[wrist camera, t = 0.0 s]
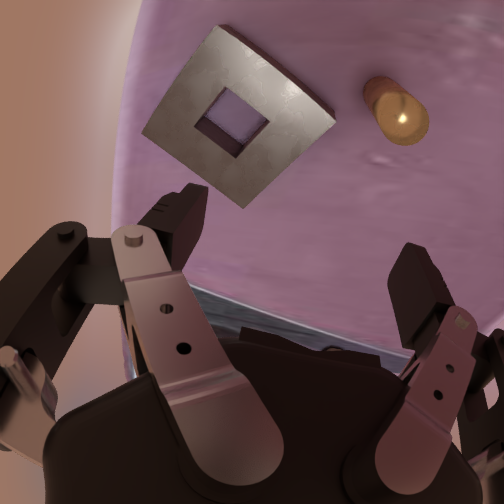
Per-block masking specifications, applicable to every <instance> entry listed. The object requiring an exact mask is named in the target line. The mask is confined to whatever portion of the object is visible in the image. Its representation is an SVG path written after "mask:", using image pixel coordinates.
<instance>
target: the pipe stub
mask: <svg viewBox="0 0 504 504" xmlns="http://www.w3.org/2000/svg"><path fill="white" fill-rule="evenodd" d="M363 97H364V101H365V103H366V104H367V106H368V108H369V109H370V111H371V113H372V114H373V116H374V118H375V119H376V121H377V123H378V125H379V126H380V128H381V130H382V132H383V133H384V135H385V136H386V137H387V138H388V139H389V140H390V141H391V142H393V143H395V144H397V145H402V146H408V145H413V144H415V143H417V142H419V141H420V140H421V139H422V138H423V137H424V136H425V134H426V133H427V131H428V127H429V116H428V113H427V111H426V109H425V107H424V106H423V105H422V104H421V103H420V102H419V101H418V100H417V99H415V98H414V97H413V96H412V95H411V94H409V93H408V92H407V91H406V90H404V89H403V88H402V87H401V86H399V85H398V84H397V83H396V82H394V81H393V80H392V79H390V78H388V77H383V76H378V77H374V78H372V79H370V80H369V81H368V82H367V83H366V85H365V87H364V90H363Z"/></svg>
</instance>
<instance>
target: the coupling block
mask: <svg viewBox="0 0 504 504" xmlns="http://www.w3.org/2000/svg"><path fill="white" fill-rule="evenodd" d="M226 88H228V89H230V90H231V91H232V92H234V93H235V94H236V95H238V96H239V97H240V98H242V99H243V100H244V101H245V102H247V103H248V104H249V105H250V106H252V107H253V108H254V109H256V110H257V111H258V112H259V113H261V114H262V115H263V116H264V117H265V118H267V120H266V121H265V123H264V124H263V125H262V126H261V127H260V128H259V129H258V130H257V131H256V132H255V133H254V134H253V135H252V136H251V138H250V139H249V140H248V141H247V142H246V143H245V144H244V145H243V146H242V145H241V144H240V143H239V142H237V141H236V140H235V139H233V138H232V137H231V136H230V135H228V134H227V133H226V132H224V131H223V130H222V129H220V128H219V127H218V126H217V125H215V124H214V123H213V122H211V121H210V120H209V119H207V118H206V117H205V115H206V113H207V112H208V111H209V110H210V108H211V107H212V106H213V104H214V103H215V102H216V101H217V99H218V98H219V97H220V96H221V95H222V93H223V92H224V91H225V90H226ZM335 123H336V117H335V112H334V111H333V110H332V109H331V108H330V107H329V106H328V105H327V104H326V103H324V102H323V101H322V100H321V99H320V98H319V97H318V96H317V95H316V94H315V93H313V92H312V91H311V90H310V89H309V88H308V87H307V86H306V85H304V84H303V83H302V82H301V81H300V80H299V79H297V78H296V77H295V76H294V75H293V74H291V73H290V72H289V71H288V70H287V69H285V68H284V67H283V66H282V65H280V64H279V63H278V62H277V61H275V60H274V59H273V58H272V57H270V56H269V55H268V54H267V53H265V52H264V51H263V50H261V49H260V48H259V47H257V46H256V45H255V44H253V43H252V42H251V41H249V40H248V39H246V38H245V37H244V36H242V35H241V34H239V33H238V32H237V31H235V30H234V29H232V28H231V27H229V26H228V25H216V26H215V27H214V28H213V30H212V31H211V32H210V33H209V35H208V36H207V37H206V38H205V40H204V41H203V42H202V44H201V45H200V46H199V48H198V49H197V50H196V52H195V53H194V54H193V56H192V57H191V58H190V60H189V61H188V62H187V64H186V65H185V67H184V68H183V69H182V71H181V72H180V74H179V75H178V76H177V78H176V79H175V81H174V82H173V84H172V85H171V87H170V88H169V90H168V91H167V93H166V94H165V96H164V97H163V99H162V100H161V102H160V103H159V105H158V107H157V108H156V110H155V111H154V113H153V114H152V116H151V118H150V119H149V121H148V123H147V124H146V126H145V128H144V129H143V131H142V133H141V134H143V135H144V136H145V137H147V138H148V139H150V140H151V141H152V142H154V143H155V144H157V145H158V146H159V147H161V148H162V149H163V150H165V151H166V152H168V153H169V154H170V155H172V156H173V157H174V158H176V159H177V160H178V161H180V162H181V163H183V164H184V165H185V166H187V167H188V168H189V169H191V170H192V171H193V172H195V173H196V174H197V175H199V176H200V177H201V178H203V179H204V180H205V181H207V182H208V183H209V184H211V185H212V186H213V187H215V188H216V189H217V190H219V191H220V192H221V193H223V194H224V195H225V196H227V197H228V198H229V199H231V200H232V201H233V202H235V203H236V204H237V205H239V206H240V207H241V208H242V209H244V208H245V207H246V206H247V205H248V204H249V203H250V202H251V201H252V200H253V199H254V198H255V197H256V196H257V195H258V194H259V193H260V192H261V191H262V190H263V189H265V188H266V187H267V186H268V185H269V184H270V183H271V182H272V181H273V180H274V179H275V178H276V177H277V176H278V175H279V174H280V173H281V172H282V171H284V170H285V169H286V168H287V167H288V166H289V165H290V164H291V163H292V162H293V161H294V160H295V159H296V158H297V157H299V156H300V155H301V154H302V153H303V152H304V151H305V150H306V149H307V148H308V147H309V146H310V145H312V144H313V143H314V142H315V141H316V140H317V139H318V138H319V137H320V136H321V135H322V134H324V133H325V132H326V131H327V130H328V129H329V128H330V127H331V126H332V125H333V124H335Z"/></svg>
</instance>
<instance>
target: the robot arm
mask: <svg viewBox="0 0 504 504" xmlns="http://www.w3.org/2000/svg"><path fill="white" fill-rule="evenodd" d="M207 197H208V187H206V186H202V185H197V184H193V183H188V184H187V185H186V186H185V187H184V189H183V190H182V191H181V192H180V193H176V192H171V193H169V194H167V195H164V196H162V197H161V198H160V200H159V201H158V202H157V203H156V204H155V205H154V206H153V207H152V209H150V210H149V211H148V212H147V214H146V215H145V216H144V217H143V218H142V219H141V220H140V221H139V222H138V224H137V225H126V226H123V227H120V228H118V229H117V230H115V231H114V232H113V234H112V236H111V238H92V237H91V238H90V237H88V236H87V229H86V227H85V226H84V225H83V224H81V223H79V222H72V221H68V222H62V223H59V224H56V225H54V226H53V227H51V228H50V229H49V230H48V231H47V232H46V233H45V234H44V235H43V236H42V237H41V238H40V239H39V240H38V241H37V242H36V243H35V244H34V245H33V246H32V247H31V248H30V249H29V250H28V251H27V252H26V253H25V254H24V255H23V256H22V257H21V259H20V260H19V261H18V262H17V263H16V264H15V265H14V266H13V267H12V268H11V269H10V271H9V272H8V273H7V274H6V275H5V276H4V277H3V279H2V280H1V281H0V450H2V451H14V452H15V453H17V454H19V455H20V456H22V457H24V458H26V459H27V460H29V461H31V462H33V463H34V464H36V465H38V466H40V467H42V468H43V471H44V478H45V490H46V492H45V493H46V495H45V496H46V497H45V504H504V330H502V329H495V330H494V331H493V332H492V333H491V335H490V336H489V337H487V336H485V335H483V334H481V333H479V332H478V331H477V330H478V326H477V323H476V321H475V319H474V318H473V317H472V315H471V314H470V313H469V312H468V311H466V310H465V309H463V308H461V307H459V306H456V305H455V303H454V301H453V298H452V296H451V294H450V292H449V290H448V288H447V285H446V283H445V281H443V277H442V275H441V273H440V271H439V270H438V268H437V267H436V266H435V265H434V264H433V262H432V260H431V258H430V256H429V254H428V252H427V251H426V249H425V248H424V247H422V246H419V245H416V244H413V243H409V242H408V243H406V244H405V246H404V247H403V249H402V251H401V253H400V255H399V257H398V259H397V261H396V263H395V264H394V266H393V268H392V270H391V272H390V274H389V277H388V283H387V286H388V290H389V294H390V298H391V302H392V305H393V309H394V313H395V317H396V321H397V326H398V330H399V334H400V339H401V343H402V348H405V349H411V350H415V353H414V354H413V355H412V357H411V358H410V359H409V361H408V362H407V364H406V365H405V367H404V368H403V370H402V371H401V373H400V375H399V376H396V375H395V374H393V373H392V372H390V371H389V370H387V369H385V368H383V367H381V364H380V356H378V355H373V354H367V353H361V352H356V351H351V350H340V351H314V350H311V349H308V348H306V347H303V346H301V345H299V344H297V343H294V342H292V341H290V340H288V339H285V338H283V337H281V336H279V335H275V334H271V333H267V332H262V331H258V330H254V329H250V328H246V327H241V331H240V335H239V337H222V338H217V337H216V335H215V333H214V331H213V329H212V328H211V326H210V324H209V322H208V320H207V318H206V316H205V315H204V313H203V311H202V309H201V307H200V305H199V303H198V301H197V299H196V297H195V295H194V293H193V292H192V290H191V288H190V286H189V284H188V282H187V280H186V278H185V276H184V274H183V272H182V269H183V267H184V266H185V264H186V262H187V260H188V258H189V256H190V254H191V253H192V251H193V249H194V247H195V245H196V244H197V242H198V240H199V238H200V236H201V233H202V229H203V225H204V218H205V211H206V204H207ZM94 304H108V305H118V309H119V313H120V317H121V321H122V325H123V328H124V332H125V335H126V339H127V342H128V345H129V349H130V353H131V357H132V361H133V365H134V369H135V372H136V375H137V378H135V379H133V380H131V381H129V382H127V383H125V384H123V385H121V386H119V387H117V388H116V389H114V390H112V391H110V392H108V393H106V394H104V395H102V396H100V397H98V398H96V399H94V400H92V401H90V402H88V403H86V404H84V405H82V406H80V407H78V408H76V409H74V410H72V411H70V412H68V413H67V414H65V415H64V416H62V417H61V418H60V419H59V420H58V421H57V422H56V421H55V409H56V405H57V400H58V396H57V391H56V388H55V386H54V385H53V383H52V379H53V377H54V375H55V374H56V372H57V370H58V368H59V366H60V364H61V362H62V360H63V358H64V357H65V355H66V353H67V351H68V349H69V347H70V346H71V344H72V342H73V340H74V339H75V337H76V335H77V333H78V331H79V330H80V328H81V326H82V325H83V323H84V321H85V319H86V318H87V316H88V314H89V312H90V311H91V309H92V308H93V306H94ZM494 378H495V379H496V382H497V386H498V390H499V397H498V400H497V402H496V403H495V405H494V406H492V407H491V408H490V409H489V410H488V406H487V402H486V398H485V393H484V389H483V388H484V387H485V386H486V385H487V384H488V383H489V382H490V381H492V379H494ZM456 417H457V421H458V427H459V435H460V443H461V451H462V454H461V452H460V451H459V450H458V449H457V447H456V446H455V445H454V443H453V442H452V436H451V434H450V432H451V429H452V426H453V424H454V421H455V419H456Z"/></svg>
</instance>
